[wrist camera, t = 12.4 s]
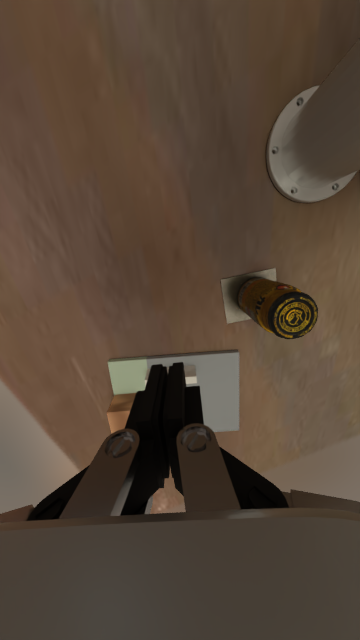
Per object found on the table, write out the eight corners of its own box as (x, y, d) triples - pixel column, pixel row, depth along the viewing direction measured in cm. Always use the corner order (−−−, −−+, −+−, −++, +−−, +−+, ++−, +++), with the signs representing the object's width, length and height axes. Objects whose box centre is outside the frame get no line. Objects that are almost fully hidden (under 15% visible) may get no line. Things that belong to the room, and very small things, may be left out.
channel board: (237, 349, 37) (245, 362, 32) (237, 426, 41) (244, 446, 37) (109, 359, 37) (100, 372, 33) (123, 434, 41) (117, 454, 37)
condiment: (278, 313, 35) (327, 341, 23) (226, 323, 35) (250, 355, 24) (274, 267, 33) (326, 274, 21) (220, 279, 33) (242, 291, 22)
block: (140, 392, 38) (135, 410, 33) (144, 413, 39) (139, 433, 35) (114, 394, 38) (106, 412, 33) (119, 415, 39) (112, 435, 35)
